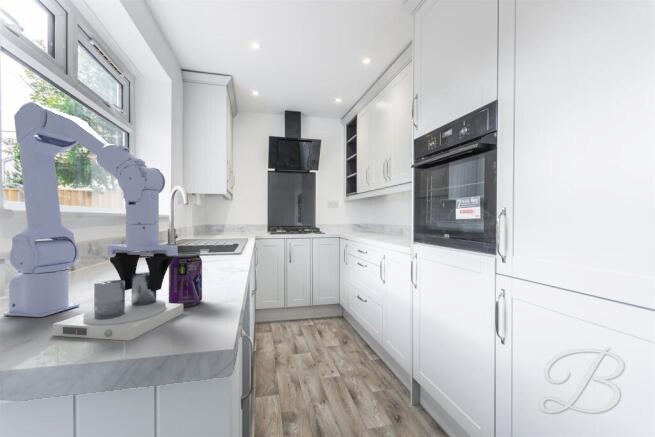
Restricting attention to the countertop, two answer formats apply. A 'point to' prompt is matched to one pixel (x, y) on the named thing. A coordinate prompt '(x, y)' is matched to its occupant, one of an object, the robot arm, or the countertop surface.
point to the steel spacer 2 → (141, 290)
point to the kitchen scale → (119, 322)
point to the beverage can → (185, 279)
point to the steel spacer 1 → (109, 299)
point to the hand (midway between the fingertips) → (142, 289)
